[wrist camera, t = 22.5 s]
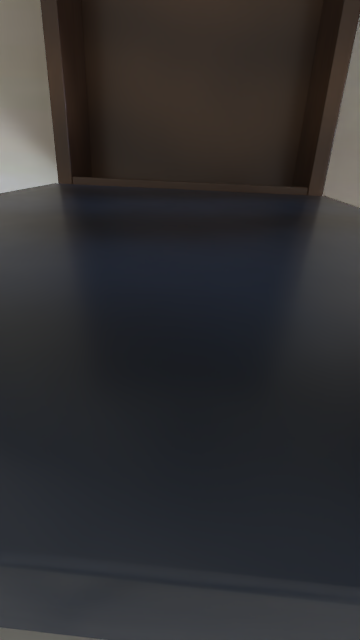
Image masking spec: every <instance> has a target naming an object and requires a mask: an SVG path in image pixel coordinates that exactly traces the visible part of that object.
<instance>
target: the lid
mask: <svg viewBox="0 0 360 640" xmlns="http://www.w3.org/2000/svg"><path fill="white" fill-rule="evenodd" d="M0 627H1V628H9V629H18V630H26V631H35V632H43V633H52V634H60V635H69V636H77V637H86V638H94V639H103V640H360V208H358V207H355V206H353V205H350V204H347V203H344V202H341V201H338V200H335V199H332V198H329V197H326V196H310V195H289V194H268V193H247V192H226V191H205V190H183V189H162V188H141V187H120V186H99V185H77V184H56V183H55V184H49V185H44V186H38V187H33V188H27V189H22V190H17V191H11V192H6V193H0Z"/></svg>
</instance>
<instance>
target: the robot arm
mask: <svg viewBox="0 0 360 640" xmlns="http://www.w3.org/2000/svg"><path fill="white" fill-rule="evenodd" d="M0 640H103V639H94V638H86V637H77V636H69V635H60V634H52V633H43V632H35V631H26V630H18V629H9V628H1V627H0Z"/></svg>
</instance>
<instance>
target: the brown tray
mask: <svg viewBox="0 0 360 640" xmlns="http://www.w3.org/2000/svg"><path fill="white" fill-rule="evenodd" d="M41 10H42V20H43V30H44V40H45V50H46V60H47V70H48V80H49V90H50V100H51V111H52V121H53V131H54V141H55V151H56V161H57V171H58V181H59V184H77V185H99V186H120V187H141V188H162V189H183V190H205V191H226V192H247V193H268V194H289V195H310V196H322V194H323V190H324V185H325V180H326V175H327V170H328V165H329V160H330V155H331V151H332V146H333V141H334V136H335V131H336V126H337V121H338V117H339V112H340V107H341V102H342V97H343V92H344V87H345V82H346V78H347V73H348V68H349V63H350V58H351V53H352V48H353V43H354V39H355V34H356V29H357V24H358V19H359V14H360V0H41Z"/></svg>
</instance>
